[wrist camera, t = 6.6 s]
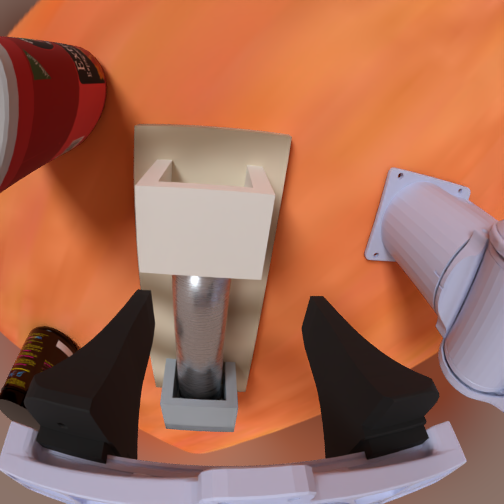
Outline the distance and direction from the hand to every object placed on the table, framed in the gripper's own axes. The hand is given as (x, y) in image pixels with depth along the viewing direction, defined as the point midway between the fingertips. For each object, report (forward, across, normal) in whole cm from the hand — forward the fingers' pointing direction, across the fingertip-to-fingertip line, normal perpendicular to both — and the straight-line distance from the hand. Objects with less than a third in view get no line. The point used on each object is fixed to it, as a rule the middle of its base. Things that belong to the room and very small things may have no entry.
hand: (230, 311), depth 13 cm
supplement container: (+10, +19, +16) cm, 27 cm away
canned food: (+10, +12, -9) cm, 18 cm away
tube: (+9, +2, +8) cm, 12 cm away
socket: (+9, +2, +17) cm, 19 cm away
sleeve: (+10, +2, -2) cm, 10 cm away
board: (+10, +2, +7) cm, 12 cm away
